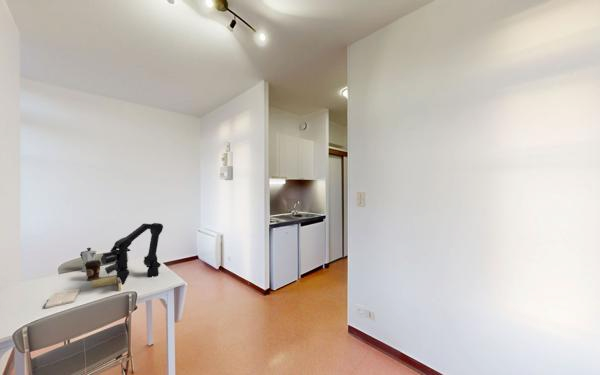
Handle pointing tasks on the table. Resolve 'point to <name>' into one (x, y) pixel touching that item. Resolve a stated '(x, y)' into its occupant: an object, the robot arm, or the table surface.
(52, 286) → the table surface
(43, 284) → the table surface
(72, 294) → the washcloth
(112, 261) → the robot arm
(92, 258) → the coffee maker
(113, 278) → the block
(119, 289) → the swing leaf
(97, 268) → the brown rounded piece
